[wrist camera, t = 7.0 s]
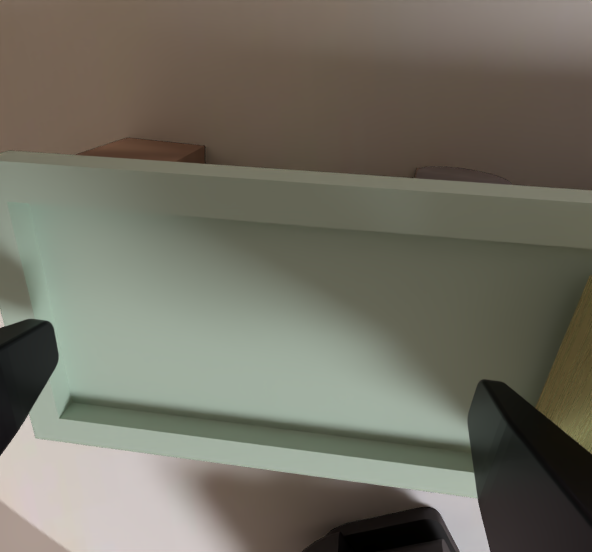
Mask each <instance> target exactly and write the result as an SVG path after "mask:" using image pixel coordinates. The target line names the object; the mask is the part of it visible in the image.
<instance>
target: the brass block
mask: <svg viewBox="0 0 592 552" xmlns="http://www.w3.org/2000/svg"><path fill="white" fill-rule="evenodd" d="M535 408H536V409H537V410H539V411H540V412H541V413H542V414H543V415H545V416H546V417H547V418H548V419H550V420H551V421H552V422H553V423H554V424H556V425H557V426H558V427H559V428H561V429H562V430H563V431H564V432H565V433H567V434H568V435H569V436H570V437H572V438H573V439H574V440H575V441H576V442H578V443H579V444H580V445H581V446H583V447H584V448H585V449H586V450H587V451H589V452H590V453H591V454H592V275H590V276H589V278H588V280H587V283H586V285H585V288H584V290H583V293H582V295H581V297H580V300H579V302H578V305H577V307H576V310H575V312H574V314H573V317H572V319H571V322H570V324H569V327H568V329H567V331H566V334H565V336H564V339H563V341H562V344H561V346H560V348H559V351H558V353H557V356H556V358H555V361H554V363H553V365H552V368H551V370H550V373H549V375H548V378H547V380H546V382H545V385H544V387H543V390H542V392H541V395H540V397H539V399H538V402H537V404H536V407H535Z"/></svg>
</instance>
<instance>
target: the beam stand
mask: <svg viewBox="0 0 592 552" xmlns="http://www.w3.org/2000/svg"><path fill="white" fill-rule="evenodd" d="M76 155H83V156H98V157H112V158H127V159H141V160H156V161H170V162H185V163H200V164H205V146H201V145H192V144H182V143H173V142H163V141H154V140H144V139H135V138H125V139H122V140H118V141H115V142H112V143H109V144H106V145H103V146H100V147H97V148H94V149H91V150H88V151H85V152H82V153H79V154H76ZM415 178H418V179H433V180H447V181H462V182H477V183H491V184H506V185H512V184H511V183H510V182H509V181H508V180H506V179H504V178H501V177H498V176H495V175H492V174H488V173H484V172H480V171H475V170H469V169H462V168H454V167H424V168H417V169H416V174H415Z"/></svg>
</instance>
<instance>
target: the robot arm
mask: <svg viewBox="0 0 592 552" xmlns="http://www.w3.org/2000/svg"><path fill="white" fill-rule="evenodd" d="M58 360H59V353H58V347H57V342H56V336H55V331H54V327H53V325H52V323H51V322H49V321H46V320H39V319H26V320H23V321H20V322H17V323H14V324H11V325H8V326H5V327H2V328H0V455H1V454H2V453H3V451H4V450H5V449H6V447H7V446H8V445H9V443H10V442H11V440H12V439H13V438H14V436H15V435H16V433H17V432H18V430H19V429H20V427H21V425H22V424H23V422H24V421H25V419H26V417H27V416H28V414H29V412H30V411H31V409H32V407H33V406H34V404H35V402H36V401H37V399H38V397H39V395H40V394H41V392H42V390H43V389H44V387H45V385H46V384H47V382H48V380H49V379H50V377H51V375H52V373H53V372H54V370H55V368H56V366H57V364H58ZM467 424H468V432H469V439H470V447H471V454H472V462H473V469H474V476H475V484H476V491H477V497H478V503H479V507H480V511H481V516H482V520H483V524H484V528H485V532H486V535H487V539H488V543H489V547H490V551H491V552H592V454H591V453H590V452H589V451H587V450H586V449H585V448H584V447H583V446H581V445H580V444H579V443H578V442H576V441H575V440H574V439H573V438H572V437H570V436H569V435H568V434H567V433H565V432H564V431H563V430H562V429H561V428H559V427H558V426H557V425H556V424H554V423H553V422H552V421H551V420H550V419H548V418H547V417H546V416H545V415H543V414H542V413H541V412H540V411H539V410H537V409H536V408H535V407H534V406H532V405H531V404H530V403H529V402H528V401H526V400H525V399H524V398H523V397H521V396H520V395H519V394H518V393H517V392H515V391H514V390H513V389H512V388H510V387H509V386H508V385H507V384H505V383H504V382H501V381H495V380H487V379H482V380H480V381H479V383H478V384H477V387H476V390H475V393H474V396H473V399H472V402H471V406H470V409H469V412H468V419H467Z"/></svg>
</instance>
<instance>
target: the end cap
mask: <svg viewBox="0 0 592 552" xmlns="http://www.w3.org/2000/svg"><path fill="white" fill-rule="evenodd" d="M302 552H460V551H459V549H458V548H457V546H456V544H455V542H454V540H453V538H452V536H451V534H450V532H449V530H448V528H447V526H446V525H445V523H444V521H443V519H442V517H441V515H440V514H439V513H438V512H437V511H436V510H435V509H433V508H430V507H420V508H416V509H411V510H406V511H402V512H397V513H392V514H388V515H383V516H378V517H374V518H369V519H364V520H360V521H355V522H351V523H346V524H344V525H342V526H340V527H337V528H335V529H333V530H331V531H330V532H329V533H328V534H327V535H326V536H325V537H324V538H322V539H320V540H318V541H316V542H314V543H313V544H311V545H310V546H309V547H307V548H306V549H305V550H303V551H302Z"/></svg>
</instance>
